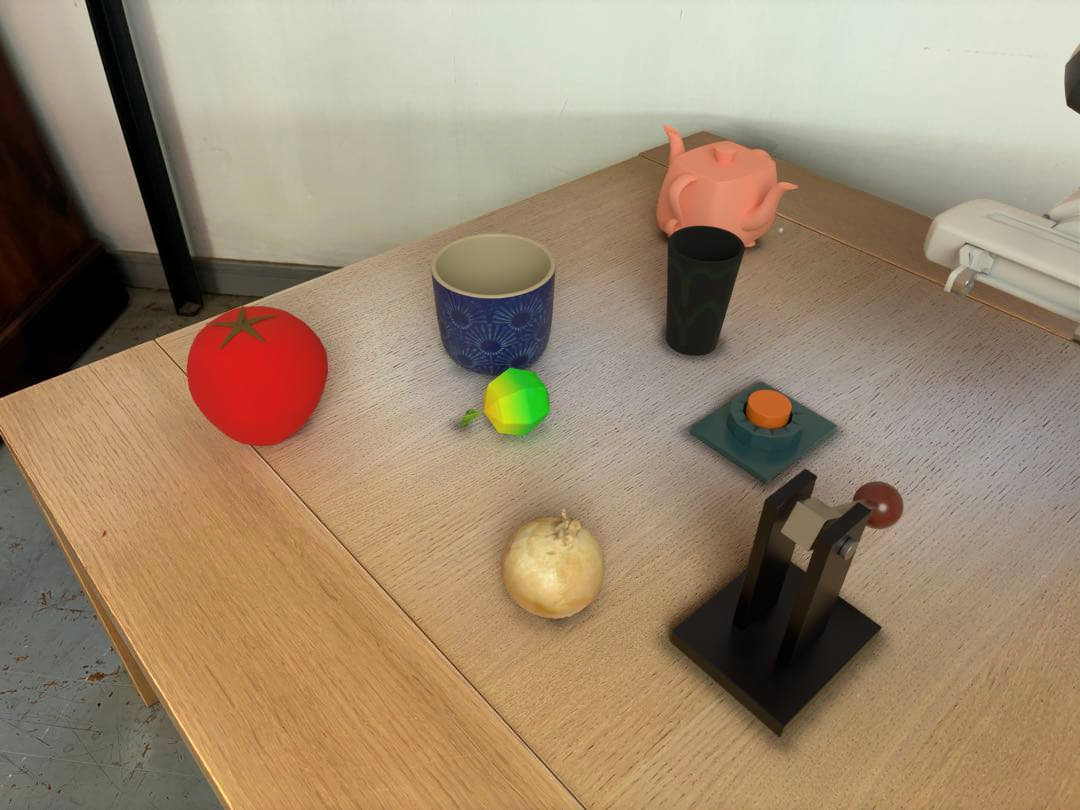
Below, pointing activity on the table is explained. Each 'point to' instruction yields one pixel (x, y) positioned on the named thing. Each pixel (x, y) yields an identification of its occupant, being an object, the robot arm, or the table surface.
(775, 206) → the teapot
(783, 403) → the button
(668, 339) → the cup
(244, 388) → the tomato
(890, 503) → the lever
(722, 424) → the button box
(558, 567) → the onion
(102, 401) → the table surface
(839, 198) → the table surface
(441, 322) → the planter
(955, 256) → the robot arm
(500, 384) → the apple
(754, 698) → the bracket
